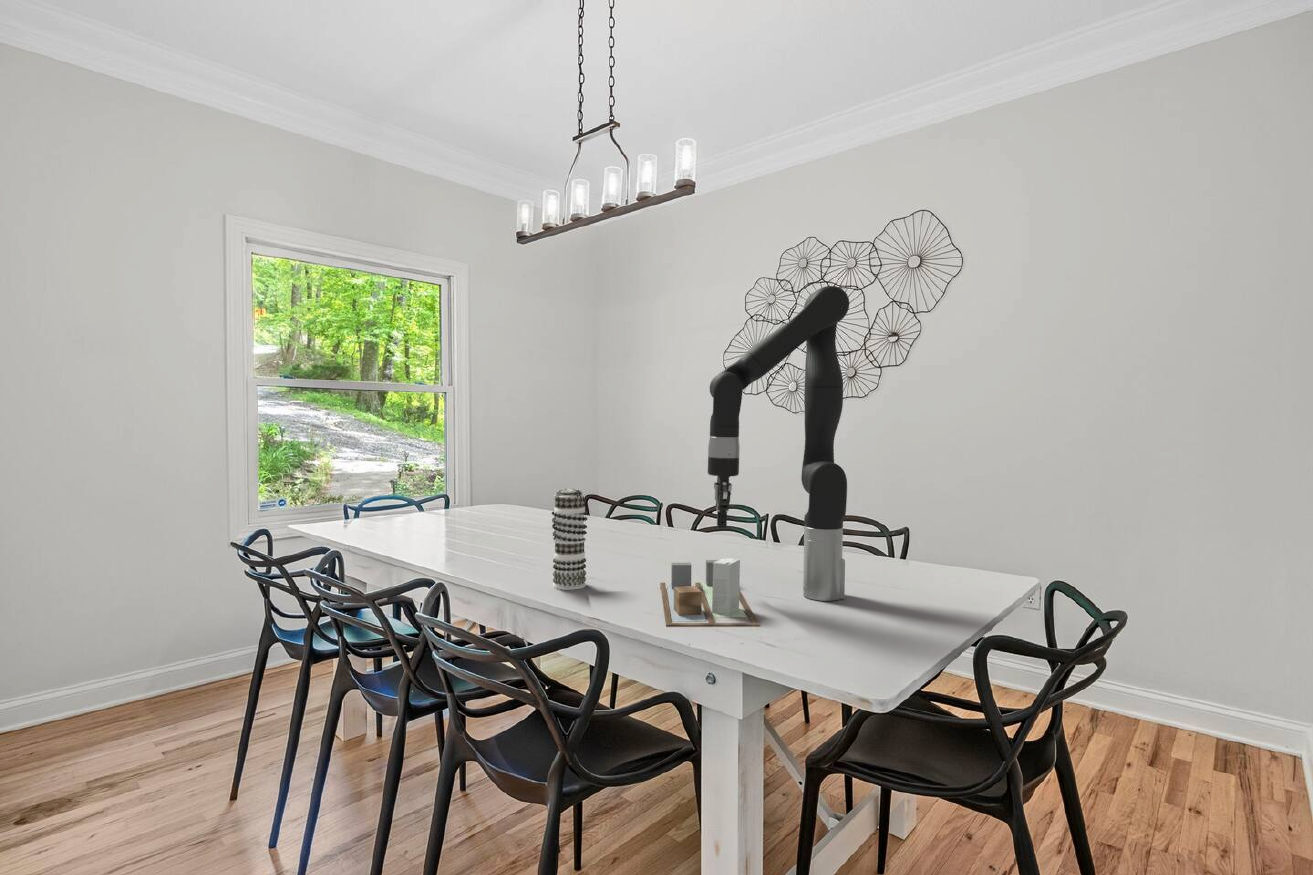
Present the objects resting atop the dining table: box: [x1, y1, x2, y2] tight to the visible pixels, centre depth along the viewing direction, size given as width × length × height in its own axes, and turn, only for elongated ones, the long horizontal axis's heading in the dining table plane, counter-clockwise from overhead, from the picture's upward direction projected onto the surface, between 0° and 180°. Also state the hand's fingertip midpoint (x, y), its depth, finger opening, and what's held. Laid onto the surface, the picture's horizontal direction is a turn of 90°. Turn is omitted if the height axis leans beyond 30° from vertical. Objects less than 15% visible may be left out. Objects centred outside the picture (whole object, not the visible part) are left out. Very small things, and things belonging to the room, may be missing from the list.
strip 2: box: [701, 559, 747, 618], centre depth 160 cm, size 7×30×7 cm, turn 2°
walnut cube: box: [674, 585, 703, 616], centre depth 149 cm, size 5×5×5 cm
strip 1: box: [666, 562, 707, 623], centre depth 157 cm, size 7×30×7 cm, turn 2°
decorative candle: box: [551, 488, 589, 591], centre depth 176 cm, size 9×9×25 cm
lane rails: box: [659, 582, 761, 628], centre depth 156 cm, size 19×35×2 cm, turn 2°
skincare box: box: [711, 557, 741, 615], centre depth 150 cm, size 6×4×12 cm
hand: (721, 527), depth 165 cm, fingers closed
